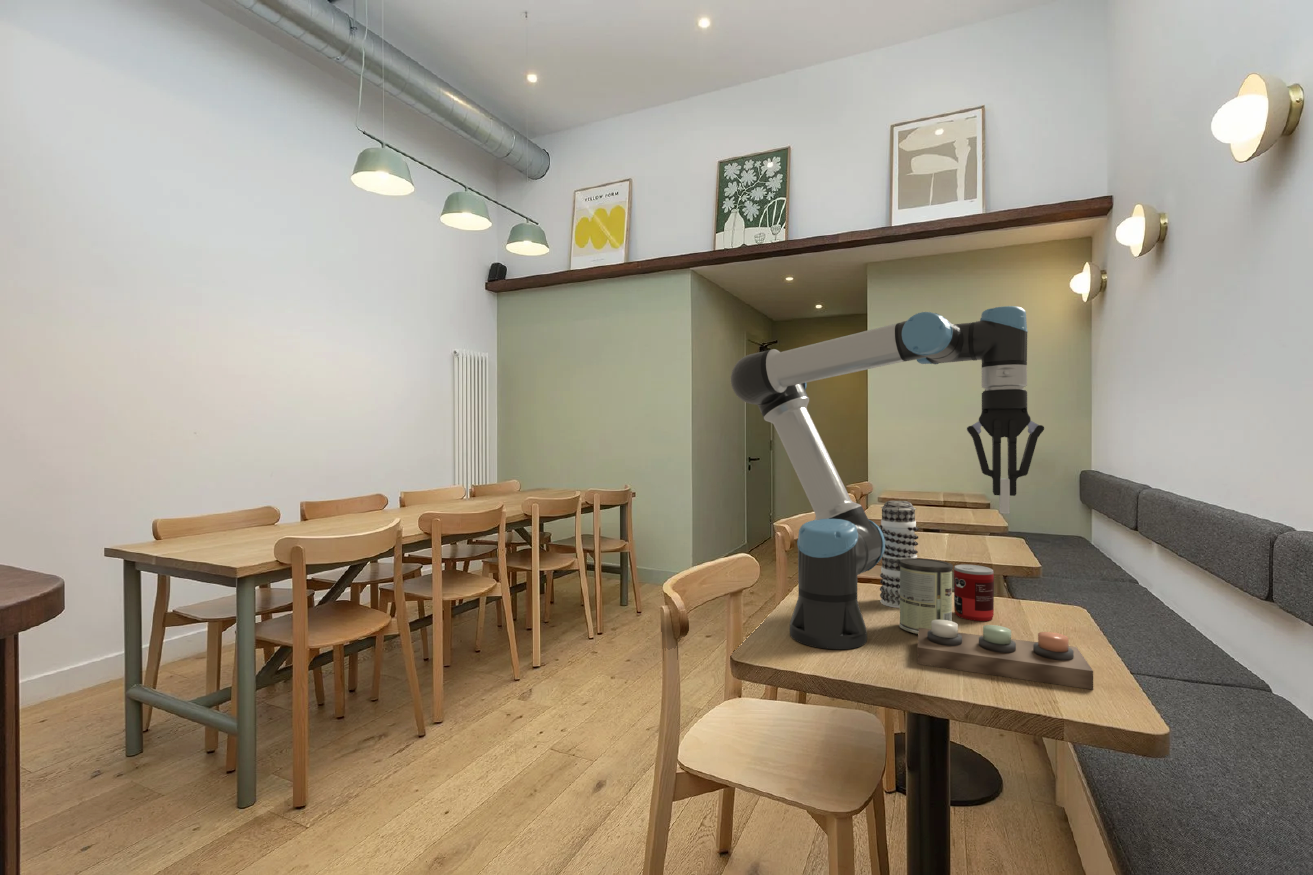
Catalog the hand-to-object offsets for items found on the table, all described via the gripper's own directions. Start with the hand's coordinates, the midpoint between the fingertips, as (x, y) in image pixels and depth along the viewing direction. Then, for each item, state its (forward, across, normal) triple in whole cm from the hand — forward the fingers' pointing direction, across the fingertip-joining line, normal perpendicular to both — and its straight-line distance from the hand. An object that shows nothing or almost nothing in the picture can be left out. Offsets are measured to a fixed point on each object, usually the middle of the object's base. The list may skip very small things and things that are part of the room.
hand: (1004, 512), depth 113 cm
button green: (+22, -2, -8) cm, 24 cm away
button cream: (+22, -11, -8) cm, 26 cm away
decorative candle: (+27, -20, +26) cm, 42 cm away
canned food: (+27, -4, +22) cm, 35 cm away
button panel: (+26, -2, -8) cm, 28 cm away
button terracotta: (+22, +7, -8) cm, 24 cm away
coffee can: (+26, -14, +7) cm, 31 cm away
